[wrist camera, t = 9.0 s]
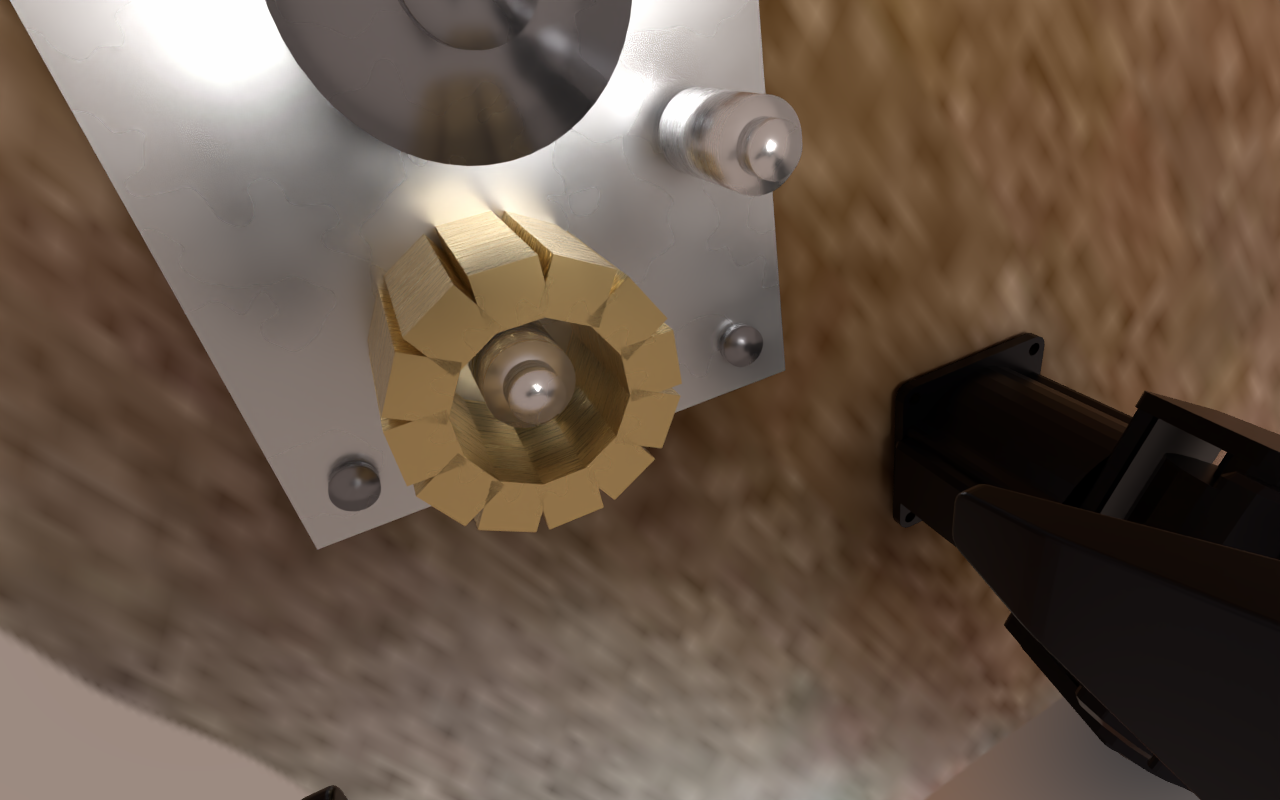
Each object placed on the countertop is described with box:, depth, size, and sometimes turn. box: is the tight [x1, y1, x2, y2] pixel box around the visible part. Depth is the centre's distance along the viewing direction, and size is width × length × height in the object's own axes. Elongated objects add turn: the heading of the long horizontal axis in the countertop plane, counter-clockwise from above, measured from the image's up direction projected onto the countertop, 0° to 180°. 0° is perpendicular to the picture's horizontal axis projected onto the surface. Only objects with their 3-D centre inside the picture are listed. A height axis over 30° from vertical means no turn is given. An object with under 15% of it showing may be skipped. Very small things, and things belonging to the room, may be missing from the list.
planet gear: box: [367, 211, 682, 532], centre depth 16 cm, size 6×6×4 cm
